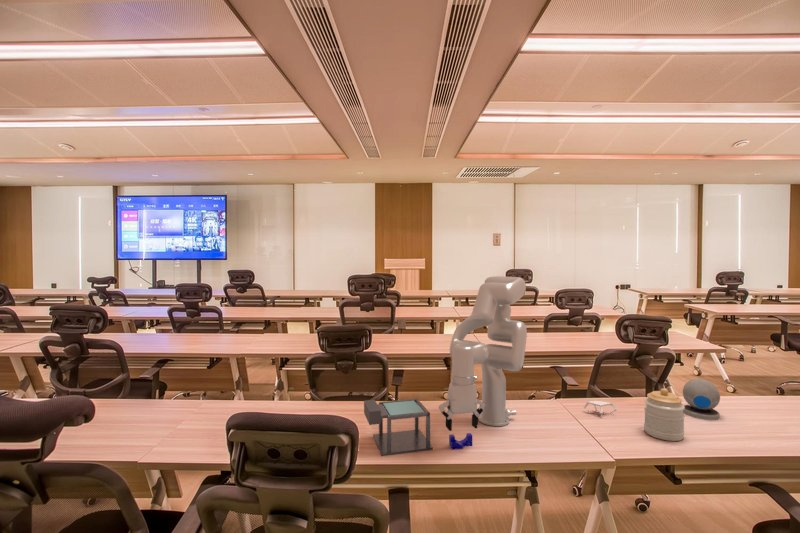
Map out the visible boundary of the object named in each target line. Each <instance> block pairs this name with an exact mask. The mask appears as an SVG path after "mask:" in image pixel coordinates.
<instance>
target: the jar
mask: <svg viewBox="0 0 800 533" xmlns="http://www.w3.org/2000/svg"><path fill="white" fill-rule="evenodd" d="M646 396H647V397H646V398H644V403H645V407H644V410H643V411H644V423H643V427H644V432H645V433H646V434H647V435H649V436H651V437H653V438H656V439H659V440H663V441H668V442H679V441H682V440H684V437H685V413H684V412H683V410H684V409H685V406H684V404H683V403H682V402H683V400H682V398H681V397H679V396H678V395H676V394H675V393H672V392H670V391H669V390H668V389H667V388H663V387H662V388H661V389H660V390H654V391H651V392H649V393H647V394H646Z"/></svg>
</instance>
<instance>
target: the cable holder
mask: <svg viewBox="0 0 800 533" xmlns="http://www.w3.org/2000/svg"><path fill="white" fill-rule="evenodd" d="M448 440H449V443H448V445H449V447H450V450H463V449H464V448H465V447H473V434H472V433H471V432H470V433H469V432H467V433H466V436H465V437H464V438H463V439H461V440H457V439H456V436H455V435H454V433H452V434H449V435H448Z"/></svg>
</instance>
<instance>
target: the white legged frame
mask: <svg viewBox="0 0 800 533" xmlns="http://www.w3.org/2000/svg"><path fill="white" fill-rule="evenodd" d="M589 405H593V407H594V411H595V412H598V409H597V406H598V407H600V409H599V410H600V412H599V413H600V418H603V412H604V410H603V407H607V406H611V407H612V408H613V409H614V410H613V411H611V412H610V414H611V415H612V416H614V414H613V413H615V412H616V411H617V410H618V408H617V407H616V406H614V403H611V402H606V401H601V400H591V401H586V404H585V405H584V409H585V410H586V413H587V414H588V413H589V412H590V410H589V409H587V407H588V406H589Z"/></svg>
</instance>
